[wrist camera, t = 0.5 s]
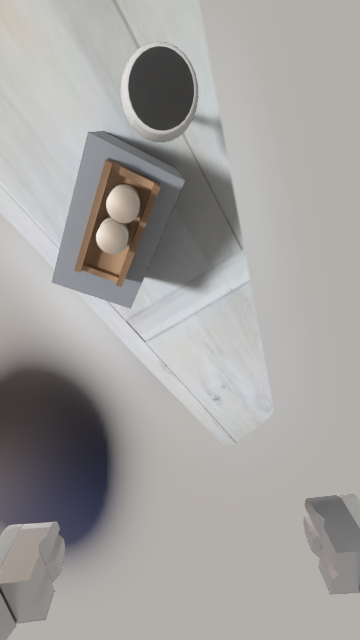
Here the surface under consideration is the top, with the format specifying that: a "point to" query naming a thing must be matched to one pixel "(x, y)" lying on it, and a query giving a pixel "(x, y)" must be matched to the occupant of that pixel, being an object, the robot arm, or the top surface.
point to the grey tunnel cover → (82, 201)
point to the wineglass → (159, 91)
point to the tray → (97, 214)
